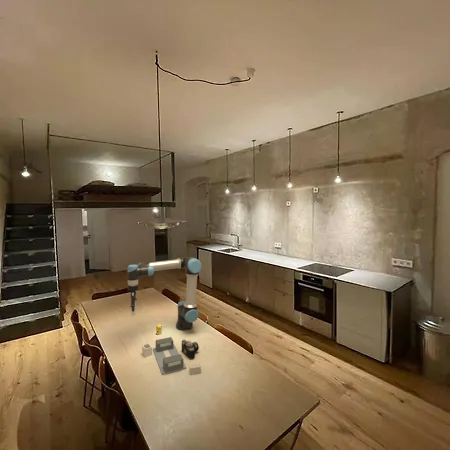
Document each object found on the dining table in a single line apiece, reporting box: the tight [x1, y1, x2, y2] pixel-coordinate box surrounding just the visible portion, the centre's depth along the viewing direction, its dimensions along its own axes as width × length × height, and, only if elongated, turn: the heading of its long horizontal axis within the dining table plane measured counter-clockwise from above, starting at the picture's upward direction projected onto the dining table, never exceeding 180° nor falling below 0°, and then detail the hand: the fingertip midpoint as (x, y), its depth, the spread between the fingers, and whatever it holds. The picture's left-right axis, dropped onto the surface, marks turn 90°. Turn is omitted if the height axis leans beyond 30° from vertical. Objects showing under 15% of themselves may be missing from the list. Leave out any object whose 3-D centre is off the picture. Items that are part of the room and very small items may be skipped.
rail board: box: [152, 336, 187, 376], centre depth 187 cm, size 16×34×7 cm, turn 25°
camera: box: [181, 338, 200, 360], centre depth 194 cm, size 16×10×10 cm, turn 35°
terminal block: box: [188, 363, 202, 376], centre depth 172 cm, size 7×4×4 cm, turn 105°
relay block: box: [141, 343, 153, 358], centre depth 193 cm, size 5×6×7 cm
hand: (133, 311), depth 204 cm, fingers open, 13 cm apart
